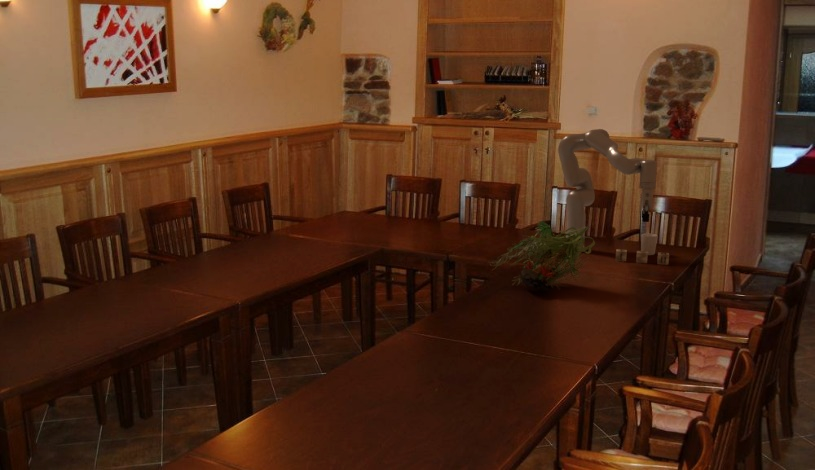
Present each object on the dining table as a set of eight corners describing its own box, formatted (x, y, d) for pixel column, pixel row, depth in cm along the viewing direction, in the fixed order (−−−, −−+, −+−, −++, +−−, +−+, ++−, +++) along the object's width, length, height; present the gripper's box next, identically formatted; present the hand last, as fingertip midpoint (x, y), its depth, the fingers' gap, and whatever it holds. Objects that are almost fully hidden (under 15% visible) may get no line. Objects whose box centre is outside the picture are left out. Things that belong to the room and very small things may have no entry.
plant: (483, 264, 372) (542, 216, 390) (534, 326, 369) (591, 275, 387) (516, 237, 341) (578, 186, 359) (572, 305, 338) (632, 250, 356)
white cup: (657, 255, 433) (659, 236, 431) (642, 255, 434) (643, 236, 432) (653, 252, 441) (655, 233, 439) (638, 252, 441) (639, 233, 439)
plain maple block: (636, 262, 418) (637, 252, 417) (636, 260, 422) (637, 250, 421) (646, 263, 416) (647, 253, 415) (646, 261, 421) (647, 251, 420)
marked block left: (615, 261, 420) (616, 251, 419) (615, 258, 425) (616, 249, 424) (625, 261, 419) (626, 251, 418) (625, 259, 424) (626, 249, 423)
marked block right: (657, 264, 415) (658, 254, 414) (657, 262, 420) (658, 252, 419) (668, 265, 414) (669, 255, 413) (667, 262, 419) (668, 252, 418)
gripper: (656, 188, 403) (653, 223, 406) (654, 183, 420) (652, 217, 423) (639, 187, 405) (637, 222, 408) (639, 182, 421) (636, 216, 425)
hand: (645, 220), depth 415 cm, fingers open, 9 cm apart
